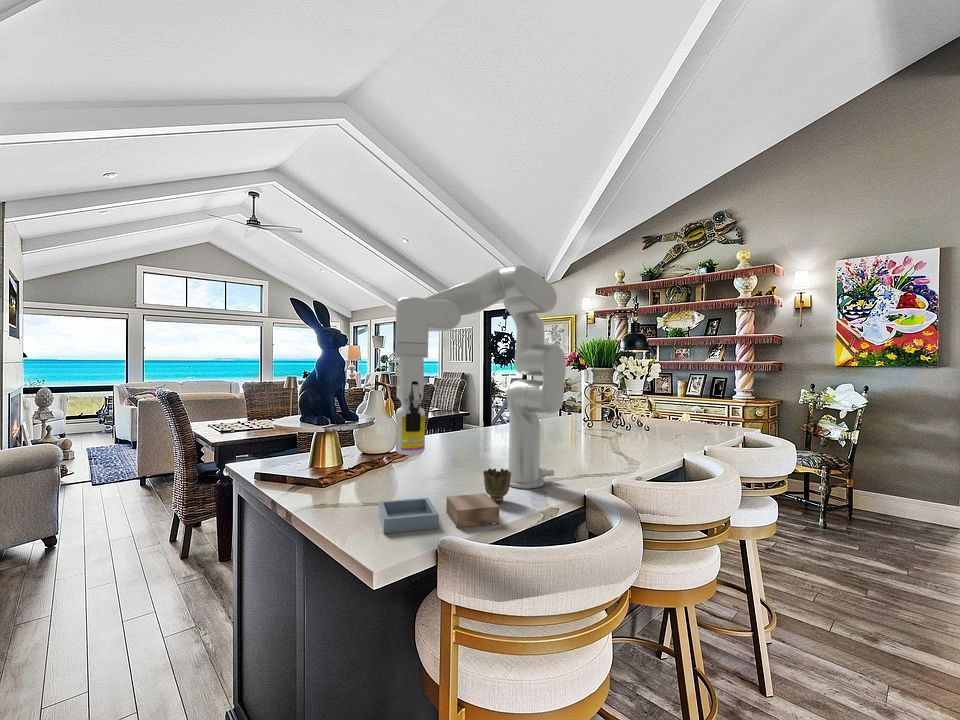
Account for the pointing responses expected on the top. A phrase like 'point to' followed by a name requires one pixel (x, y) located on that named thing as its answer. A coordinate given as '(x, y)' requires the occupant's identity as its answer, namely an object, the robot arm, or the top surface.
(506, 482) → the cup
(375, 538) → the top surface
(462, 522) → the walnut riser block
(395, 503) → the slate ceramic holder
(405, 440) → the supplement bottle
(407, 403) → the robot arm
